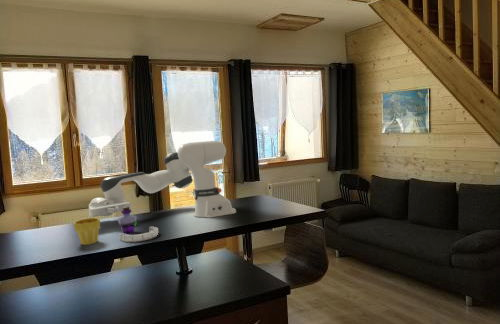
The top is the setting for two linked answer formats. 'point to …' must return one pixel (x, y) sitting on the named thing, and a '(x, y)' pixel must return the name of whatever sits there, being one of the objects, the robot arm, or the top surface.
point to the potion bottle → (127, 221)
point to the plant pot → (87, 230)
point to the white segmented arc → (140, 235)
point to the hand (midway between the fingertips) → (115, 210)
